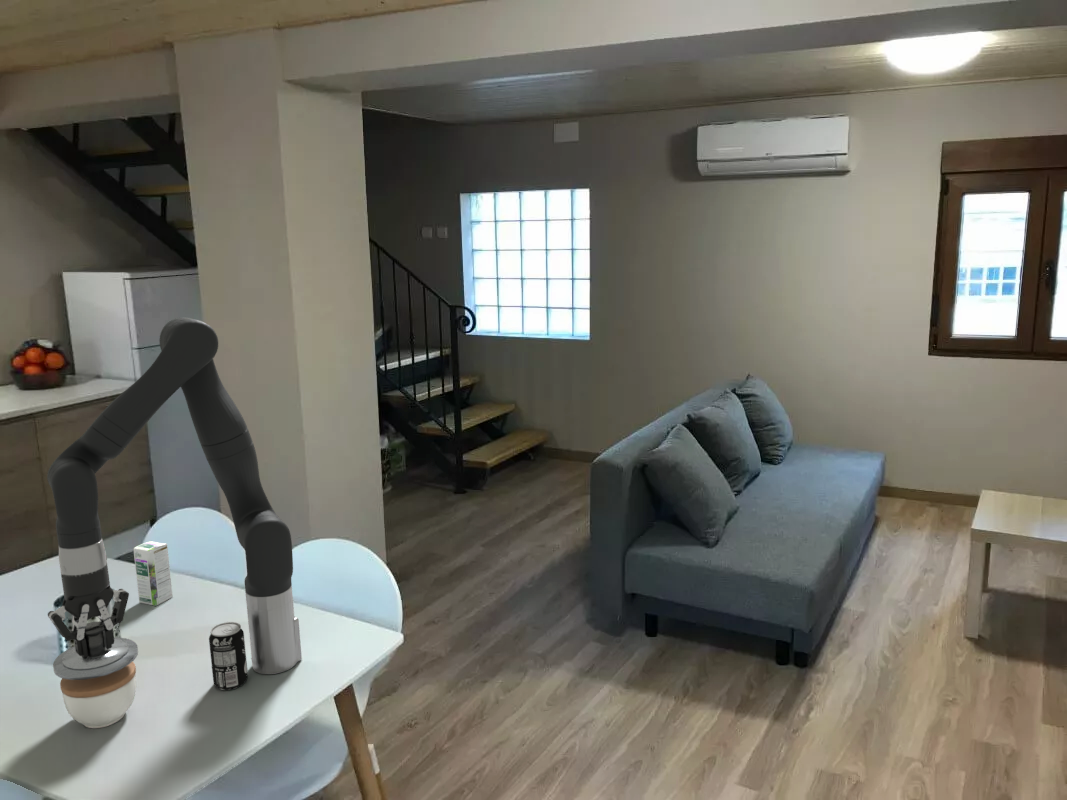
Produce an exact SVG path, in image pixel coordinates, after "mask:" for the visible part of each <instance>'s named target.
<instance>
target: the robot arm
mask: <svg viewBox="0 0 1067 800" xmlns="http://www.w3.org/2000/svg"><path fill="white" fill-rule="evenodd" d="M158 341H159V347H160V350H161V351H160V353H159V354H158V356H157V358H156V359H155V360H154V362H153V363H152V364H151V365H150V366H149V368H148V369H147V370H146V371H145V372H144V373H143V374H142V375H141V376H140V377H139V378H138V379H137V380H136V381H135V382H133V383H132V384H131V385H130V386H129V387H128V388H127V389H125V390H124V391H123V392H122V393H120V394H119V395H118V396H117V397H115V399H113V400H112V401H111V403H109V405H107V406H106V408H105V409H103V411H101V413H100V414H99V415H98V416H97V417H96V418H95V420H94V421H93V422H92V423H91V425H90V426H89V427H88V428H87V429H86V431H85V432H84V433H83V434H82V435H81V436H80V437H79V438H77V439H76V440H75V441H74V442H73V443H71V444H70V445H69V446H68V447H67V448H66V449H64V450H63V452H61V453H60V455H58V456H57V457H56V458H55V460H54V461H53V462H52V463H51V465H50V467H49V469H48V471H47V477H46V479H47V482H48V485H49V487H50V488H51V491H52V495H53V499H54V505H55V512H56V515H57V516H56V520H55V530H56V538H57V544H58V545H57V546H58V565H59V569H60V576H61V583H62V584H61V585H62V590H63V596H64V598H63V601H62V604H61V605H62V606H60V607H59V608H57V609H55V610H50V611H48V612H47V617H48V618H49V619H50V620H49V621H51V623H52V624H53V626H54V627H55V629H56V630H57V631H58V633H59V634H60V636H61V637H62V638H64V639H65V640H66V641H68V642H70V641H72V640H73V642H74V646H75V650H76V653H77V654H78V655H79V656H82V657H83V658H85V657H88V652H87V645H86V639H85V638H84V632H85V627H86V625H87V624H88V620H90V619H92V618H95V617H98V620H99V622H103V623H104V625H105V630H104V631H103V634H104V643H105V647H106V648H107V649H109V648H112V644H114V638H115V635H114V627H115V626H116V625H117V624H121V623H122V622H123V621H124V616H125V612H126V608H127V604H128V601H129V596H130V594H129V591H127V590H125V589H123V588H119V589H117V590H115V589H113V588H112V587H111V582H110V575H109V568H108V566H109V565H108V556H107V552H106V548H105V544H104V540H103V536H102V534H103V533H102V528H101V527H102V526H101V520H100V517H99V489H98V480H97V476H96V473H97V472H98V471H99V470H100V469H101V468H102V467H103V466H105V464H106V463H107V462H108V461H109V460H113V459H115V458H117V457H118V456H119V455H120V454H121V453H123V451H124V450H125V449H126V448H127V446H128V445H130V443H131V442H132V441H133V440H134V439H135V437H136V436H137V435H138V433H139V432H140V431H141V430H142V429H143V428H144V427H145V425H146V424H147V423H148V422H149V420H151V418H152V417H153V416H155V414H156V413H157V411H158V410H159V409H161V407H162V406H163V405H164V404H165V403H166V402H167V401H168V400H169V398H171V397H172V395H174V393H176V392H177V390H179V389H180V388H181V391H182V393H183V396H184V398H185V402H186V405H187V408H188V412H189V415H190V418H191V421H192V424H193V427H194V429H195V433H196V435H197V439H198V442H199V444H200V446H201V449H202V451H203V454H204V456H205V459H206V461H207V463H208V465H209V467H210V470H211V472H212V474H213V476H214V478H215V480H216V482H217V483H218V486H219V487H220V489H221V490H222V492H223V494H224V496H225V499H226V500H227V503H228V507H229V511H230V514H231V516H232V521H233V525H234V528H235V533H236V538H237V540H238V542H239V545H240V546H241V547H242V548H243V549H244V554H245V564H246V577H245V578H244V589H245V590H244V591H245V602H246V613H247V620H248V631H249V632H248V633H249V634H248V635H249V643H250V645H249V646H250V654H251V655H250V656H251V658H250V659H251V664H252V665H251V666H252V669H253V671H254V672H255V673H257V674H261V675H274V674H275V675H276V674H279V673H284V672H286V671H288V670H291V669H292V668H293V667H294V666H296V665H297V664H298V662H300V661H301V660H302V659H303V657H302V645H301V634H300V631H301V630H300V620H299V618H298V617H296V616H295V609H294V608H295V607H294V597H293V586H292V585H293V584H292V577H293V573H294V561H293V543H292V534H291V531H290V529H289V527H288V526H287V524H286V523H285V522H284V520H282V518H280V517H279V516H278V515H277V513H276V511H275V510H274V508H273V507H272V505H271V503H270V501H269V498H268V497H267V495H266V492H265V491H264V488H263V486H262V482H261V478H260V472H259V471H260V469H259V463H258V462H259V460H258V456H257V451H256V449H255V444H254V442H253V439H252V436H251V433H250V431H249V428H248V426H247V423H246V421H245V419H244V417H243V416H242V413H241V411H240V410H239V409H238V406H237V405H236V404H235V402H234V399H232V397H231V395H230V394H229V392H228V390H227V389H226V388H225V386H224V384H223V382H222V381H221V378H220V376H219V373H218V371H217V367H216V365H215V360H214V358H215V356H216V355H217V352H218V350H219V338H218V335H217V333H216V331H215V330H214V328H213V327H212V326H211V325H210V324H207V322H204V321H203V320H200V319H195V318H191V317H177V318H173V319H171V320H170V321H169V320H168V321H167V323H166V324H164V326H163V327H162V329H161V332H160V333H159V340H158ZM112 599H113V601H114V604H113V608H112V612H111V614H110V613H109V611H108V609H107V608H108V606H109V605H110V602H112ZM66 612H68V613H69V614H70V615H72V630H70V629H69V628H68V627H67V625H66V624H65V622H64V621H65V620H66Z"/></svg>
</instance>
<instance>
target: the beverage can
mask: <svg viewBox="0 0 1067 800" xmlns="http://www.w3.org/2000/svg"><path fill="white" fill-rule="evenodd" d="M208 643H209V651H210V652H209V653H210V660H211V671H212V680H213V685H214V686H215V687H216V688H218V689H219V690H221V691H232V690H235V689H238V688H241V687H242V686H243V685H244V684H245V683H246V681H247V680H248V679H249V677H248V676H249V675H248V663H247V653H246V644H245V643H246V642H245V632H244V630H243V629H242V625H241V624H240V623H238V622H234V621H227V622H222V623H219V624H216V625H215V626H213V627H211V629H210V635H209V637H208Z"/></svg>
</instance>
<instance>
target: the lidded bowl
mask: <svg viewBox="0 0 1067 800" xmlns="http://www.w3.org/2000/svg"><path fill="white" fill-rule="evenodd" d="M136 673H137V666H136V664H135V662H134V661H133V662H131V663H130V664H129V665H127V666H126V667H124V668H122V669H120V670H118V671H116V672H113V673H111V674H108V675H104V676H101V677H97V678H91V679H84V680H69V679H63V678H61V680H60V681H59V684H60V685H59V686H60V690H61V694H62V701H63V703H64V706H65V708H66V711H67V712H68V714H69V715H70V717H71V718H72V719H73V720H74V721H76V722H77V723H79V724H81V725H83V726H84V727H85V728H88V729H100V728H106V727H108V726H112V725H113V724H116V723H117V722H119V721H121V720H122V719H123V718H124V717H125V714H126V713H127V711H128V710H129V709H130V708H131V706H132V704H133V703H134V700H135V697H136V692H137V674H136Z"/></svg>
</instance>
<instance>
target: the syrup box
mask: <svg viewBox="0 0 1067 800" xmlns="http://www.w3.org/2000/svg"><path fill="white" fill-rule="evenodd" d="M132 550H133V556H134V565H135V575H136V583H137V593H138V603H140V604H146V605H151V606H154V607H156V606H158V605H160V604H162V603H164V602H166V601H168V600H170V599H172V598H173V588H172V586H173V585H172V578H171V569H170V557H169V547H168V543H163V542H157V541H153V540H151V541H147V542H146V541H145V542H144V543H141V544H139V545H137V546H135V547H133V549H132Z"/></svg>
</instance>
